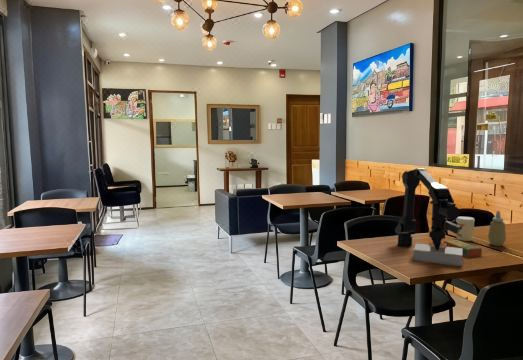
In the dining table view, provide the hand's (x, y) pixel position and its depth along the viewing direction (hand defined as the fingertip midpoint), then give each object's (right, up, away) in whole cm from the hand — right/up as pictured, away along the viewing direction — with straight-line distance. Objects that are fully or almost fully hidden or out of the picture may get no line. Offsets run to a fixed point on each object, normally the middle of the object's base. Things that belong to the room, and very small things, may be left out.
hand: (437, 249), depth 175 cm
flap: (+2, -1, +5) cm, 5 cm away
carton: (+20, -5, +17) cm, 27 cm away
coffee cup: (+34, -2, +41) cm, 54 cm away
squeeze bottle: (+44, -3, +29) cm, 53 cm away
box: (+2, -6, +5) cm, 8 cm away
